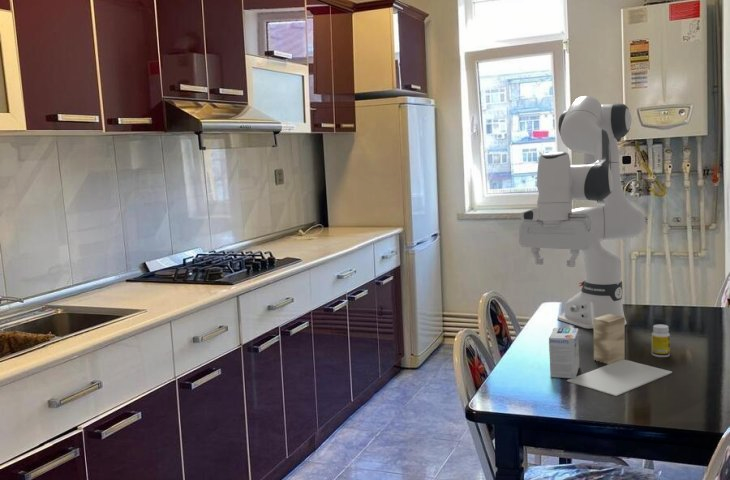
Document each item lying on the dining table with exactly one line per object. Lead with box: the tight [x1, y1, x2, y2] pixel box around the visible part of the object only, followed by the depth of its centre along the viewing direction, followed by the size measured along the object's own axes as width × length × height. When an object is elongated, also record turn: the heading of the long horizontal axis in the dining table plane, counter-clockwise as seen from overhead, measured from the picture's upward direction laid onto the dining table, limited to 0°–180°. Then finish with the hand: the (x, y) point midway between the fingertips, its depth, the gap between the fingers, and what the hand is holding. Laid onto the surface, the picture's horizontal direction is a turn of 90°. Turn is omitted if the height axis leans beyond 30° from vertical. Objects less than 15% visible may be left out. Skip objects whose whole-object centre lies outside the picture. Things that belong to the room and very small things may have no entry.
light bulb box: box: [548, 327, 580, 379], centre depth 181 cm, size 11×7×11 cm, turn 157°
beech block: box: [593, 314, 626, 365], centre depth 189 cm, size 5×7×12 cm
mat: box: [566, 359, 673, 397], centre depth 176 cm, size 14×24×1 cm, turn 125°
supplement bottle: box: [651, 323, 671, 358], centre depth 190 cm, size 5×5×8 cm
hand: (554, 265), depth 180 cm, fingers open, 8 cm apart
